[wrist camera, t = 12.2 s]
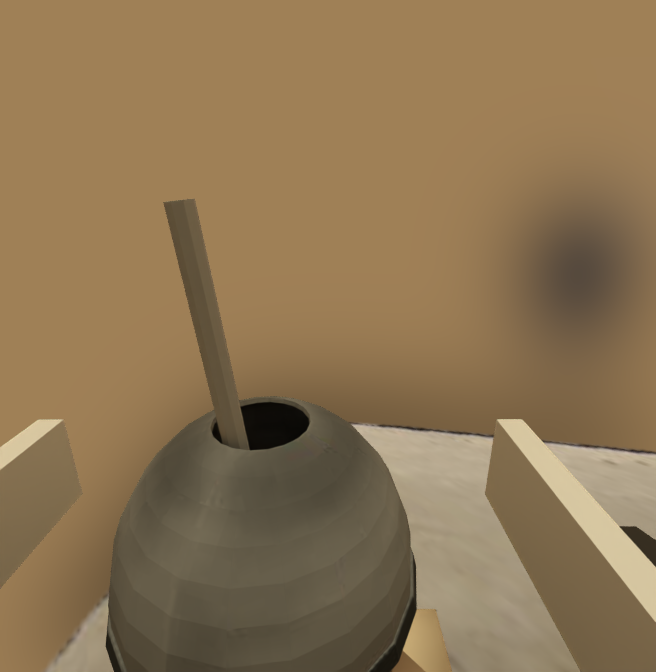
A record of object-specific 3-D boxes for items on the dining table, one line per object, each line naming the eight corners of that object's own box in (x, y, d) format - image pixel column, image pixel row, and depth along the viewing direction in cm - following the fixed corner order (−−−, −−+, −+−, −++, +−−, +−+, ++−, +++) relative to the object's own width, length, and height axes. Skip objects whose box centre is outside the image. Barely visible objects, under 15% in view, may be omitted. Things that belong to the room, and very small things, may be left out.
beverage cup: (438, 858, 12) (560, 198, 6) (214, 1149, 9) (-118, 183, 2) (318, 650, 18) (314, 202, 12) (153, 768, 14) (13, 200, 8)
